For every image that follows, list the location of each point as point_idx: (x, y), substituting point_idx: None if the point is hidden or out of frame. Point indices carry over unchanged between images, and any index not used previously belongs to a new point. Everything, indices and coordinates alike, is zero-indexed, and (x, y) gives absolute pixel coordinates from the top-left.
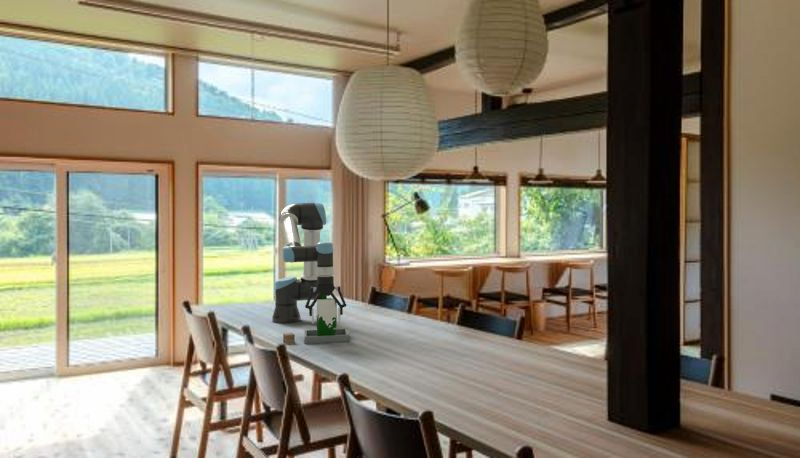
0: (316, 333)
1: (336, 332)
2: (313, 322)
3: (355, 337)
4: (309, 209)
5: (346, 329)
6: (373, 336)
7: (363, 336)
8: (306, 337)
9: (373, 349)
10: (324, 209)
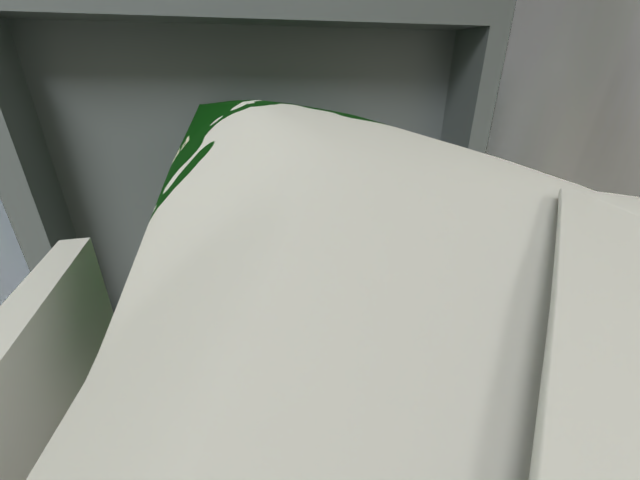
0: (140, 18)
1: (383, 25)
2: (107, 327)
3: (501, 155)
4: None
5: (495, 70)
6: (618, 140)
7: (563, 127)
8: None
9: None
10: None
